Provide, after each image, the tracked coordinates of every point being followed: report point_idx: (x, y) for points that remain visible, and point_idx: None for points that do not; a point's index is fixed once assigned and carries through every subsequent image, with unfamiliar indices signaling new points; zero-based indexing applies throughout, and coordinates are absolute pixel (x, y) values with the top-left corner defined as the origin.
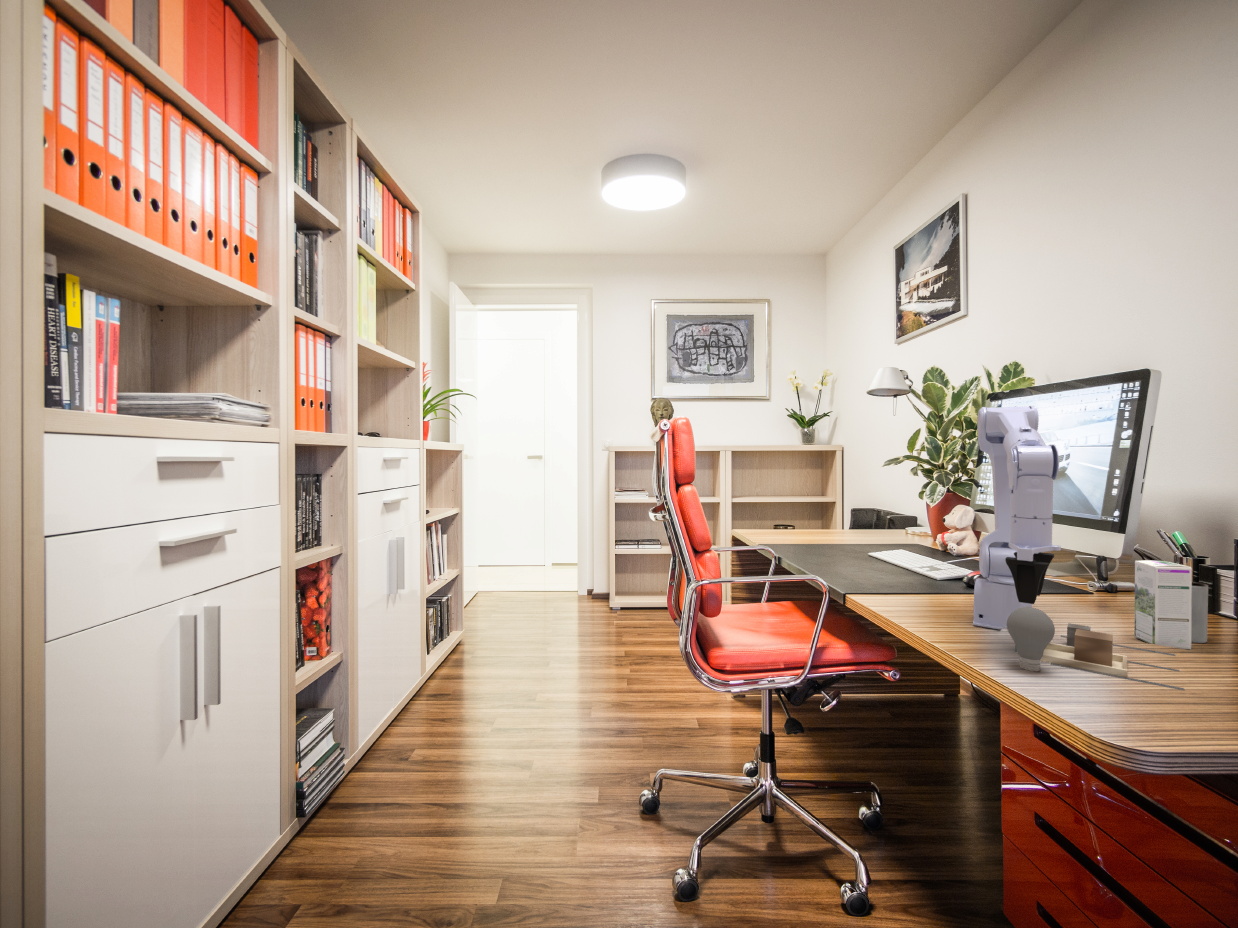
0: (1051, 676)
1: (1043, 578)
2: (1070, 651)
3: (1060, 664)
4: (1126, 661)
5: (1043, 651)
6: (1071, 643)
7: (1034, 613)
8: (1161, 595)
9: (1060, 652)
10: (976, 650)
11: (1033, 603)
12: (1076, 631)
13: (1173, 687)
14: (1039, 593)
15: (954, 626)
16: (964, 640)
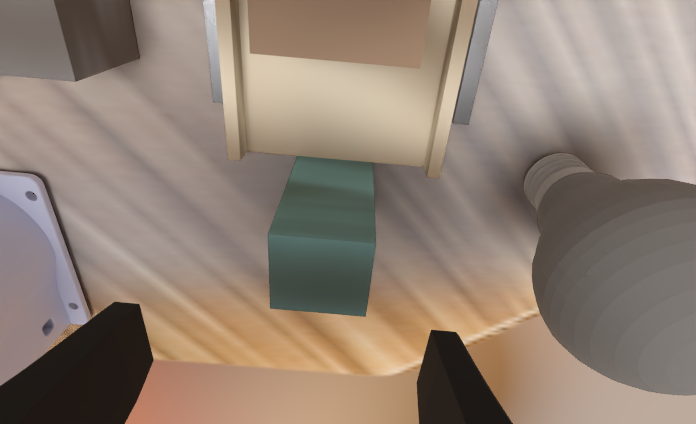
0: (560, 116)
1: (33, 409)
2: (239, 52)
3: (461, 92)
4: None
5: (614, 179)
6: (118, 46)
7: None
8: None
9: (264, 87)
10: (380, 298)
11: (458, 336)
12: (322, 55)
13: None
14: (131, 316)
15: None
16: (290, 325)
